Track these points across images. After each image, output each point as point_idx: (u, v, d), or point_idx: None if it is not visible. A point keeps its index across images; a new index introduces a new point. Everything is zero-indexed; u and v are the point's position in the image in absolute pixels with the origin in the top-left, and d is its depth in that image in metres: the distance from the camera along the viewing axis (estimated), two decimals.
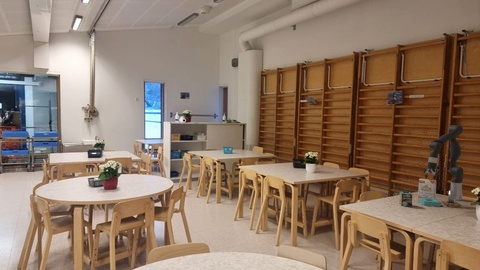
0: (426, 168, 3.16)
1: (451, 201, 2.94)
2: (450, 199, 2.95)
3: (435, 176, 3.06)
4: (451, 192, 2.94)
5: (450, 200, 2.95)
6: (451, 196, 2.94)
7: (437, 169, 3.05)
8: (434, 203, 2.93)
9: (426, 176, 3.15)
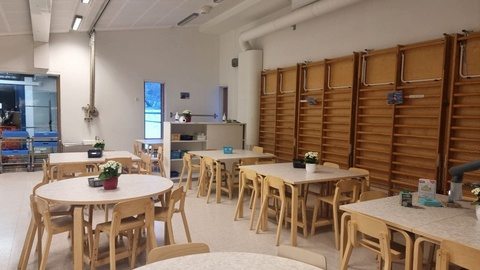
0: None
1: (451, 201, 2.94)
2: (450, 199, 2.95)
3: (471, 183, 2.88)
4: (451, 192, 2.94)
5: (450, 200, 2.95)
6: (451, 196, 2.94)
7: None
8: (434, 203, 2.93)
9: None
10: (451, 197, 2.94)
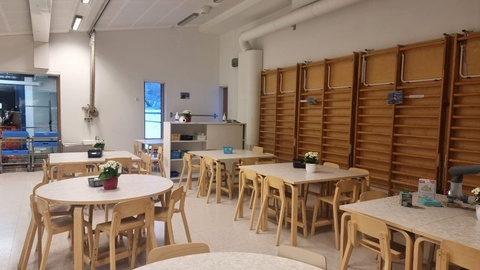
0: None
1: (451, 201, 2.94)
2: (450, 199, 2.95)
3: None
4: (451, 192, 2.94)
5: (450, 200, 2.95)
6: None
7: None
8: (434, 203, 2.93)
9: None
10: None
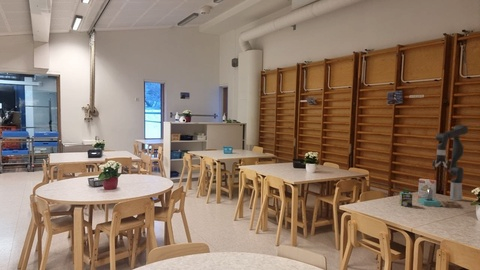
0: (435, 161, 3.11)
1: (430, 199, 2.98)
2: (429, 197, 2.99)
3: None
4: (430, 191, 2.98)
5: (429, 198, 2.99)
6: (430, 195, 2.98)
7: (448, 161, 3.09)
8: (434, 203, 2.93)
9: None
10: (430, 196, 2.98)
